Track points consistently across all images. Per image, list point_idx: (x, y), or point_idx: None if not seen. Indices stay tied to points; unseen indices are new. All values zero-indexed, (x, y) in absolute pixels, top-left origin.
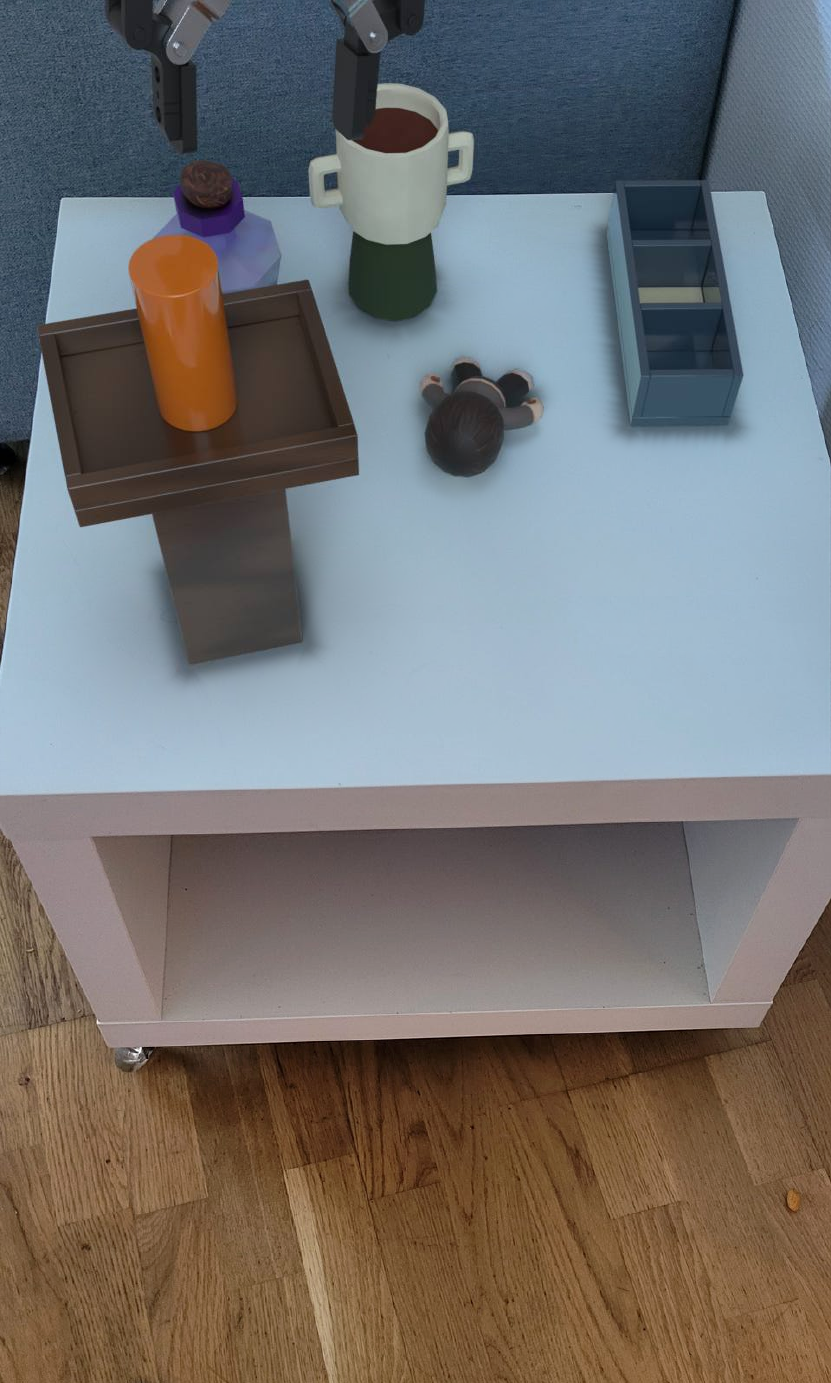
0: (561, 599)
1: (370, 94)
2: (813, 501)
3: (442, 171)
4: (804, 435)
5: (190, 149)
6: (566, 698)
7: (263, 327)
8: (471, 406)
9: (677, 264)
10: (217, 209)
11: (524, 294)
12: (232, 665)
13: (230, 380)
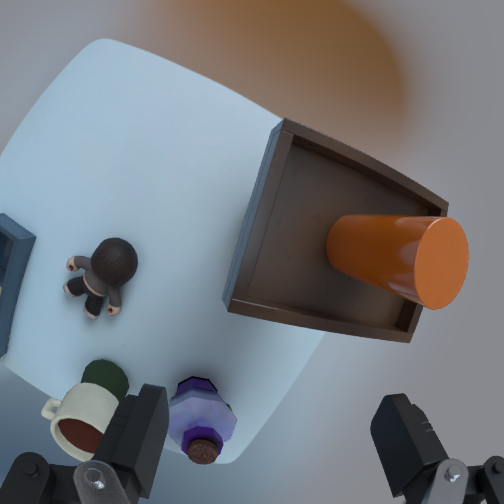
0: (124, 149)
1: (120, 422)
2: (2, 153)
3: (62, 404)
4: None
5: (397, 394)
6: (160, 98)
7: (273, 296)
8: (106, 264)
9: None
10: (201, 438)
11: (47, 344)
12: None
13: (351, 222)
